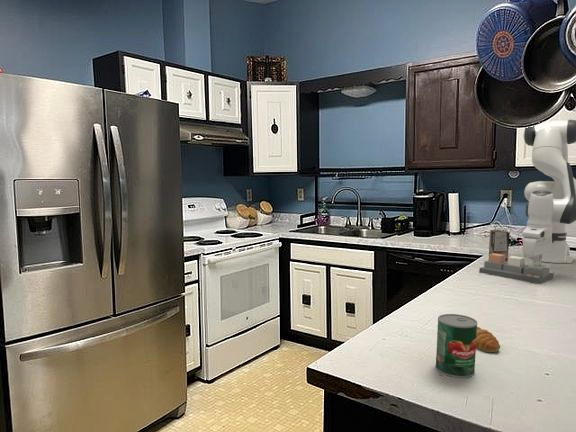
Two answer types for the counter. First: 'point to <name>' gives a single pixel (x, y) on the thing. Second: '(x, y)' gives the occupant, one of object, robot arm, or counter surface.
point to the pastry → (486, 341)
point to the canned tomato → (456, 345)
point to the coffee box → (499, 242)
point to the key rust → (497, 258)
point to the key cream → (516, 261)
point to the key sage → (537, 267)
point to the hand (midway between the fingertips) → (536, 265)
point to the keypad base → (516, 272)
